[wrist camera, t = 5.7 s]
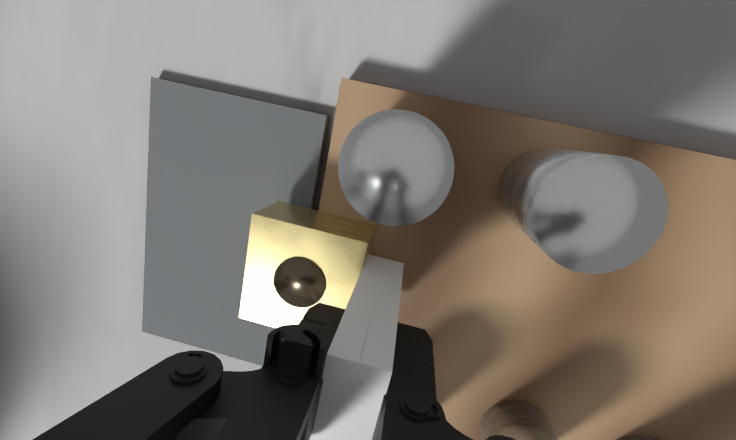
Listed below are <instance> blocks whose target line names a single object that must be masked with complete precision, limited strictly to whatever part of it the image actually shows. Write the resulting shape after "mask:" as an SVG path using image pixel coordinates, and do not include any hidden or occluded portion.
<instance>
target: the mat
mask: <svg viewBox="0 0 736 440" xmlns="http://www.w3.org/2000/svg"><path fill="white" fill-rule="evenodd" d="M328 119H329V116H328V115H323V114H318V113H314V112H309V111H305V110H300V109H295V108H291V107H286V106H282V105H277V104H273V103H268V102H263V101H259V100H254V99H250V98H245V97H241V96H236V95H231V94H227V93H222V92H218V91H213V90H208V89H204V88H199V87H195V86H190V85H186V84H181V83H176V82H172V81H167V80H163V79H158V78H153V77H151V95H150V124H149V153H148V182H147V210H146V239H145V268H144V297H143V326H142V331H143V332H146V333H150V334H153V335H157V336H160V337H164V338H167V339H171V340H174V341H178V342H181V343H185V344H188V345H192V346H195V347H199V348H202V349H206V350H209V351H213V352H216V353H220V354H223V355H227V356H230V357H234V358H237V359H241V360H244V361H248V362H251V363H255V364H258V365H262V366H263V364H264V357H265V350H266V344H267V337H268V334H269V333H270V332H271V331H272V330H274V329H275V328H274V327H270V326H267V325H263V324H260V323H256V322H253V321H249V320H246V319H242V318H239V313H240V305H241V297H242V289H243V281H244V273H245V265H246V256H247V248H248V240H249V232H250V224H251V216H252V213H254V212H256V211H258V210H260V209H263V208H265V207H267V206H269V205H271V204H273V203H275V202H277V201H282V202H286V203H290V204H294V205H298V206H302V207H306V208H310V209H313V207H314V201H315V195H316V189H317V183H318V177H319V171H320V166H321V160H322V154H323V148H324V142H325V136H326V130H327V125H328Z"/></svg>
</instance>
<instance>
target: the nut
mask: <svg viewBox="0 0 736 440" xmlns="http://www.w3.org/2000/svg"><path fill="white" fill-rule="evenodd" d="M376 227H377V225H374V224H370V223H366V222H362V221H358V220H354V219H350V218H346V217H342V216H338V215H334V214H330V213H326V212H322V211H318V210H314V209H310V208H306V207H302V206H298V205H294V204H290V203H286V202H282V201H277V202H275V203H273V204H271V205H269V206H267V207H265V208H263V209H260V210H258V211H256V212H254V213H252V216H251V224H250V232H249V240H248V248H247V256H246V265H245V273H244V281H243V289H242V297H241V305H240V313H239V318H242V319H246V320H249V321H253V322H256V323H260V324H263V325H267V326H270V327H274V328H278V327H281V326H283V325H292V324H297V325H298V324H299V323H300V321H301V320H302V319H303V316H304V315H305V313H306V312H307V310H308V309H309V308H310V307H312V306H314V305H316V304H318V303H323V304H327V305H331V306H334V307H338V308H342V309H346V307H347V304H348V302H349V299H350V297H351V295H352V292H353V290H354V287H355V285H356V283H357V280H358V278H359V275H360V273H361V270H362V268H363V266H364V263H365V261H366V258H367V256H368V254H369V255H370V253H371V249H372V244H373V240H374V236H375V231H376Z"/></svg>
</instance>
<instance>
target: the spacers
mask: <svg viewBox="0 0 736 440" xmlns="http://www.w3.org/2000/svg"><path fill="white" fill-rule="evenodd" d="M338 175H339V181H340V185H341V188H342V190H343V193H344V195H345V197H346V198H347V200H348V201H349V203H350V204H351V205H352V207H353V208H354V209H355V210H356V211H357V212H359V213H360V214H361V215H362V216H364V217H365V218H367V219H369V220H371V221H373V222H375V223H378V224H382V225H387V226H405V225H410V224H413V223H416V222H419V221H421V220H423V219H425V218H426V217H428V216H429V215H431V214H432V213H433V212H434V211H436V210H437V209H438V208H439V206H440V205H441V204H442V203H443V201H444V200H445V199H446V197H447V195H448V193H449V191H450V188H451V185H452V182H453V177H454V158H453V153H452V150H451V147H450V144H449V142H448V140H447V138H446V137H445V135H444V134H443V132H442V131H441V130H440V129H439V128H438V126H437V125H435V124H434V123H433V122H432V121H431V120H429V119H428V118H426V117H424V116H422V115H420V114H418V113H415V112H412V111H408V110H401V109H392V110H385V111H381V112H377V113H375V114H373V115H370V116H369V117H367V118H365V119H364V120H362V121H361V122H360V123H359V124H357V125H356V126H355V127H354V128H353V129H352V131H351V132H350V133H349V135H348V136H347V138H346V140H345V141H344V143H343V146H342V148H341V151H340V155H339V161H338ZM498 199H499V203H500V206H501V208H502V210H503V212H504V213H505V215H506V216H507V217H508V218H509V219H510V220H511V221H512V222H513V223H514V224H515V225H516V226H517V227H518V228H519V229H521V230H522V231H523V232H524V233H525V234H526V235H527V236H528V237H529V238H530V239H531V240H532V241H533V242H534V243H535V244H536V245H537V246H538V247H539V248H541V249H542V250H543V251H544V252H545V253H546V254H547V255H548V256H549V257H550V258H551V259H552V260H554V261H555V262H556V263H558V264H559V265H561V266H563V267H565V268H567V269H569V270H573V271H576V272H581V273H588V274H599V273H607V272H612V271H615V270H619V269H621V268H624V267H626V266H628V265H630V264H632V263H634V262H635V261H637V260H638V259H640V258H641V257H643V256H644V255H645V254H646V253H647V252H648V251H649V250H650V249H651V248H652V247H653V246H654V245H655V243H656V242H657V240H658V239H659V237H660V235H661V234H662V232H663V229H664V227H665V224H666V220H667V216H668V199H667V195H666V191H665V189H664V186H663V184H662V183H661V181H660V179H659V178H658V177H657V175H656V174H655V173H654V172H653V171H652V170H651V169H649V168H648V167H647V166H645V165H644V164H642V163H641V162H639V161H636V160H634V159H631V158H628V157H624V156H618V155H610V154H601V153H592V152H583V151H575V150H566V149H557V148H537V149H532V150H529V151H527V152H525V153H523V154H521V155H519V156H518V157H516V158H515V159H514V160H513V161H512V162H511V163H510V164H509V165H508V166H507V167H506V169H505V170H504V172H503V174H502V176H501V178H500V181H499V185H498ZM480 434H481V439H482V440H486V439H487V438H488V437H489V436H495V435H503V436H506V437H510V438H513V439H515V440H558V437H557V435H556V433H555V431H554V429H553V426H552V424H551V422H550V420H549V418H548V416H547V415H546V414H545V413H544V411H543V410H541V409H540V408H539V407H537V406H535V405H533V404H531V403H528V402H525V401H519V400H509V401H503V402H500V403H497V404H495V405H493V406H492V407H490V408H489V409H488V410H487V411H486V412H485V413H484V415H483V416H482V418H481V421H480ZM616 440H660V439H658V438H655V437H652V436H647V435H629V436H624V437H621V438H618V439H616Z"/></svg>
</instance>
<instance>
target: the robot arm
mask: <svg viewBox="0 0 736 440" xmlns="http://www.w3.org/2000/svg"><path fill="white" fill-rule="evenodd" d="M403 269H404V263H401V262H397V261H393V260H389V259H385V258H381V257H377V256H373V255H369V254H368V256H367V258H366V261H365V263H364V266H363V268H362V270H361V273H360V275H359V278H358V280H357V283H356V285H355V287H354V290H353V292H352V295H351V297H350V299H349V302H348V304H347V307H346V309H342V308H338V307H334V306H331V305H327V304H323V303H318V304H316V305H314V306H312V307H310V308H309V309H308V310H307V312H306V313H305V315H304V316H303V319H302V320H301V321H300V323H299V324H298V325H297V324H292V325H283V326H281V327H278V328H275V329H274V330H272V331H271V332H270V333H269V334H268V337H267V344H266V350H265V357H264V364H263V367H262V368H261V369H259V370H254V371H246V372H233V371H223V366H222V363H221V360H220V359H219V358H217V357H216V356H215V355H214V354H211V353H208V352H205V351H186V352H181V353H177V354H175V355H173V356H170V357H168V358H166V359H164V360H163V361H161V362H159V363H158V364H156V365H155V366H153V367H151V368H150V369H148V370H146V371H145V372H143V373H141V374H140V375H138V376H136V377H135V378H133V379H131V380H130V381H128V382H127V383H125V384H123V385H122V386H120V387H118V388H117V389H115V390H113V391H112V392H110V393H108V394H107V395H105V396H104V397H102V398H100V399H99V400H97V401H95V402H94V403H92V404H90V405H89V406H87V407H85V408H84V409H82V410H81V411H79V412H77V413H76V414H74V415H72V416H71V417H69V418H67V419H66V420H64V421H62V422H61V423H59V424H58V425H56V426H54V427H53V428H51V429H49V430H48V431H46V432H44V433H43V434H41V435H39V436H38V437H36V438H35V439H33V440H473V439H471V438H469V437H468V436H466V435H464V434H463V433H461V432H460V431H458V430H457V429H455V428H454V427H453V426H452V425H451V424H450V423H449V422H448V421H447V420H446V417H445V414H444V411H443V408H442V406H441V405H440V404H439V402H438V401H437V398H436V384H435V369H434V355H433V341H432V339H431V338H430V336H429V334H428V333H427V331H426V330H425V329H421V328H417V327H414V326H410V325H406V324H402V323H399V322H398V315H399V306H400V296H401V287H402V278H403ZM486 440H515V439H513V438H510V437H506V436H503V435H495V436H489V437H488V438H487V439H486Z"/></svg>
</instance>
